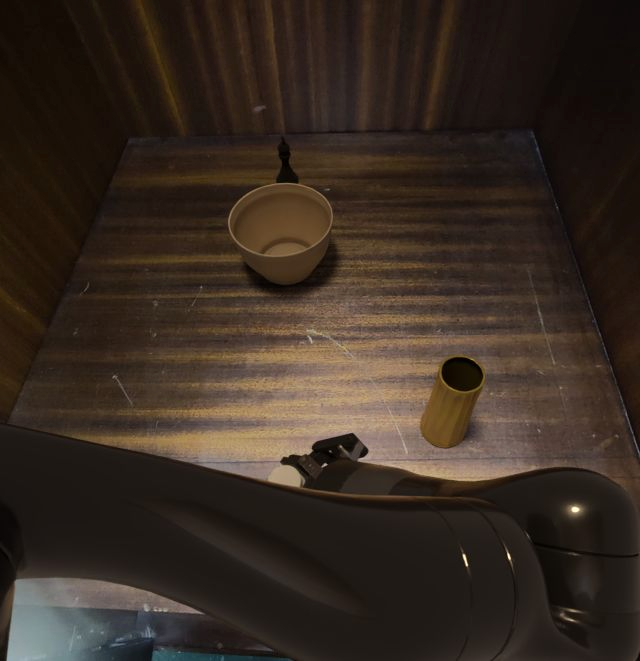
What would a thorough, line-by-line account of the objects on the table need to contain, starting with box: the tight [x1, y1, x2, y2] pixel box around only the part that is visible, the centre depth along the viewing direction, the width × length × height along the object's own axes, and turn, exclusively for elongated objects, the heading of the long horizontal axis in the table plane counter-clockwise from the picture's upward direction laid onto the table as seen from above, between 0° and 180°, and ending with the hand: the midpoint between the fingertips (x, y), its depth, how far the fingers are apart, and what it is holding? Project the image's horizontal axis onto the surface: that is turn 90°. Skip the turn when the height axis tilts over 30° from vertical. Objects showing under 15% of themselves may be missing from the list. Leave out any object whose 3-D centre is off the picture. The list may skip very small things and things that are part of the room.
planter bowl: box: [227, 183, 334, 286], centre depth 84 cm, size 16×16×11 cm
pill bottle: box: [267, 464, 305, 488], centre depth 56 cm, size 4×4×8 cm
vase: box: [419, 353, 487, 449], centre depth 64 cm, size 6×6×14 cm
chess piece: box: [275, 135, 300, 184], centre depth 97 cm, size 4×4×10 cm
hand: (273, 483), depth 56 cm, fingers closed on pill bottle, 4 cm apart
